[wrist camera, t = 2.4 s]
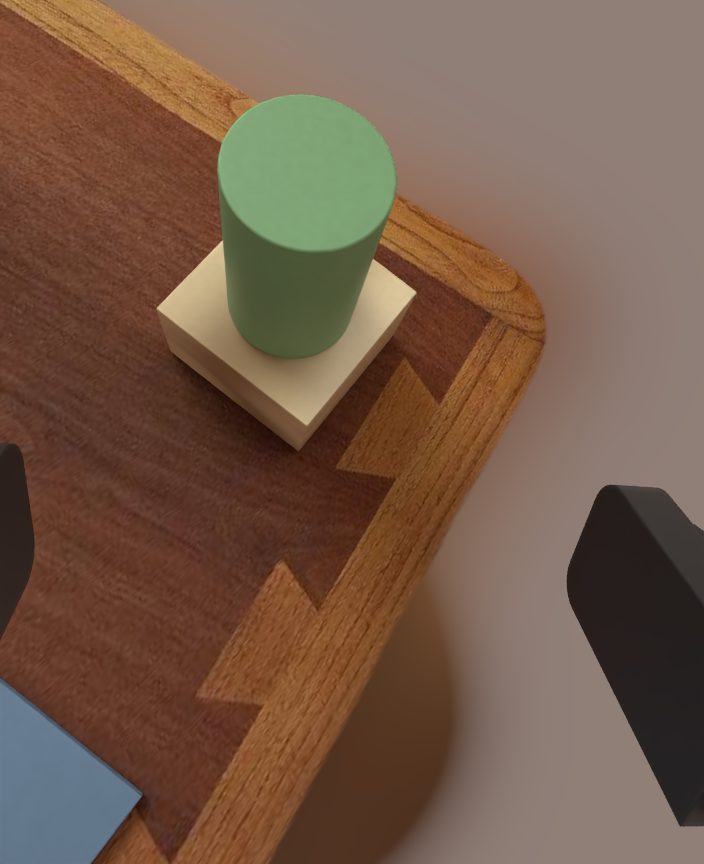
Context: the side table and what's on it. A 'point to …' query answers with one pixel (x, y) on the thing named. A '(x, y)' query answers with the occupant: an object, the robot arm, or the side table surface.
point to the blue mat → (53, 790)
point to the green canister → (300, 219)
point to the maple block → (271, 375)
